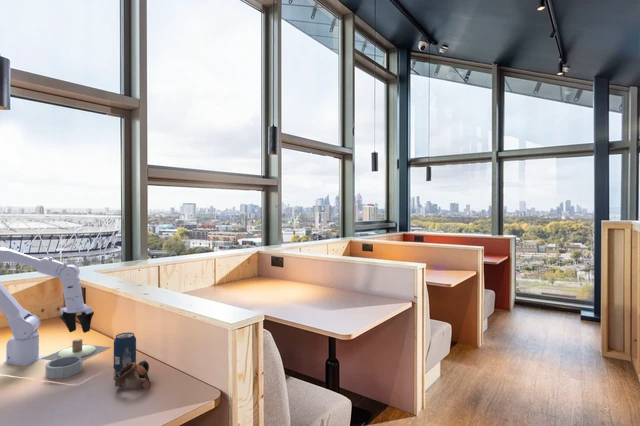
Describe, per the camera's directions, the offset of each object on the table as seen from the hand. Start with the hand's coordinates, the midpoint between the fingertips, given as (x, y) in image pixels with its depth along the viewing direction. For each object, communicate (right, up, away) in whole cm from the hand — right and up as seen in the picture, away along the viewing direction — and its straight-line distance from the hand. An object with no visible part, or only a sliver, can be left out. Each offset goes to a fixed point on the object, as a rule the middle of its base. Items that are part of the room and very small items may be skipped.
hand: (79, 331), depth 144 cm
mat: (-1, -9, +1) cm, 9 cm away
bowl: (+5, -9, -16) cm, 19 cm away
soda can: (+23, -10, -12) cm, 28 cm away
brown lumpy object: (+33, -10, -24) cm, 41 cm away
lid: (-1, -8, +1) cm, 9 cm away
